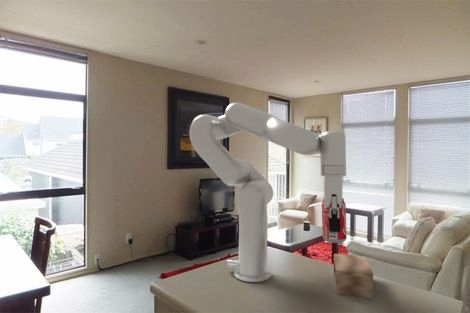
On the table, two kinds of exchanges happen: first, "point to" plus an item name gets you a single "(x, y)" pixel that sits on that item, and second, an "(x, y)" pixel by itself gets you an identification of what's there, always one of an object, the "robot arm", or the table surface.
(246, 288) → the table surface
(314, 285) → the table surface
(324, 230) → the soda can
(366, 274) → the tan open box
